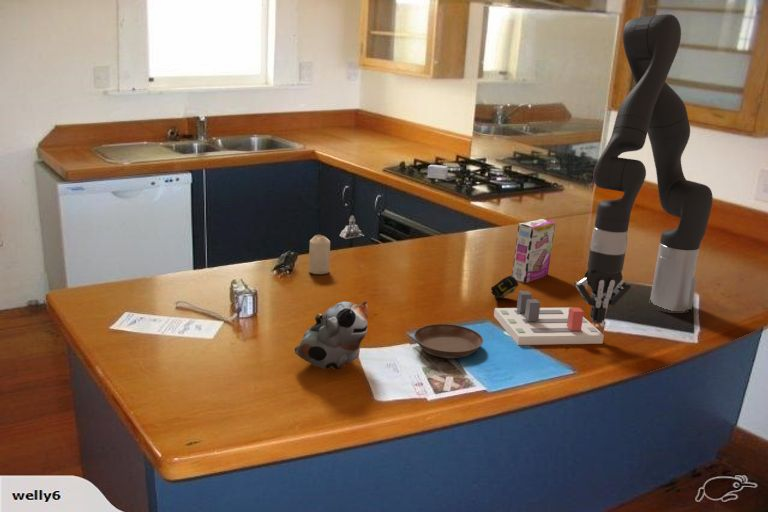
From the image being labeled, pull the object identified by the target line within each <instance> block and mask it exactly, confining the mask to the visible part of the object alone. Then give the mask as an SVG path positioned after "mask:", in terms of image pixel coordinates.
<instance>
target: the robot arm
mask: <svg viewBox="0 0 768 512" xmlns="http://www.w3.org/2000/svg"><path fill="white" fill-rule="evenodd" d="M681 37H682V27H681V23H680V22H679V19H678V18H677V17H676V16H675V14H674V15H673V14H670V13H669V14H667V13H666V14H665V13H663V14H655V15H649V16H640V17H636V18H635V17H633V18H630V20H628V21H627V22H626V23H625V25H624V27H623V31H622V43H623V49H624V54H625V56H626V59H627V62H628V65H629V68H630V71H631V74H632V77H633V80H634V82H635V86H633V88H632V89H631V90H630V91H629V92H628V94H627V95H626V96H625V98H624V99H623V101H622V102H621V104H620V106H619V109H618V111H617V112H616V118H615V121H614V125H613V128H612V132H611V136H610V137H609V138H610V139H609V141H608V143H607V145H606V147H605V148H604V150H603V152H602V154H601V155H600V157H599V158H598V160H597V162H596V164H595V166H594V168H593V174H592V179H593V182H594V184H595V186H596V187H598V188H600V189H602V190H603V189H604V190H610V191H616V192H623V195H622V197H621V198H618V199H604V200H601V201H600V202H599V203H598V204H597V208H596V214H595V220H594V228H593V230H592V235H591V239H590V246H589V247H590V248H589V253H588V254H589V255H588V261H587V269H586V272H585V273H584V278H582V279H581V280H579V281H578V280H575V281H574V283H573V284H574V286H575V288H576V289H577V292H578V293H579V294H580V296H581V297H582V299H583V301H584V302H585V303H587V304H588V305H589V306H591V308H590V316H589V317H590V319H591V320H592V322H594V323H595V324H602V323H603V321H605V318H606V313H607V308H608V307H609V306H615V305H616V304H617V302H618V301H620V299H621V298H622V297H623V296H624V295H625V294H626V293H627V292H628V291H629V290H630V289H631V284H629V283H628V282H627V281H625V280H624V279H623V277H624V276H623V274H622V273H623V272H622V271H623V270H624V265H625V264H624V263H625V257H626V251H627V248H628V247H627V246H628V232H629V225H630V220H631V219H630V218H631V213H632V211H633V206H634V203H635V201H636V199H637V196H638V194H639V192H640V190H641V189H642V186H643V184H644V183H645V180H646V176H647V170H646V166H645V164H644V163H643V161H641V160H639V159H633V158H626V157H620V155H622V154H623V153H627V152H637V151H640V150H642V149H643V147H644V146H645V143H646V139H647V136H648V139H649V142H650V146H651V151H652V156H653V162H654V166H655V172H656V181H657V190H658V197H659V203H660V206H661V208H662V209H663V211H664V212H665V213H666V214H668V215H670V216H672V217H677V218H680V219H679V223H678V225H677V227H676V228H673V229H672V228H671V229H666V230H663V231H662V233H661V236H660V241H659V246H658V253H657V256H656V257H657V258H656V263H655V267H654V268H655V270H654V275H653V281H652V285H651V286H652V287H651V292H650V298H649V301H650V300H651V302H652V303H653V304H654V305H657V306H659V307H662V308H664V309H668V310H671V311H685V310H687V309H691V310H692V308H693V302H694V296H695V293H696V292H695V291H696V287H697V282H698V278H697V277H696V276H695V272H696V269H697V268H696V267H697V262H698V257H699V251H700V246H701V244H702V243H701V242H702V241H703V239H704V237H705V234H706V231H707V227H708V223H709V221H710V220H709V219H710V215H711V211H712V209H713V208H712V206H713V201H714V200H713V193H712V190H711V188H710V187H709V186H707V185H706V184H704V183H703V184H702V183H700V182H696V181H691V180H688V179H686V177H685V174H684V171H683V167H682V166H683V165H682V156H683V154H684V152H685V149H686V148H687V145H688V143H689V140H690V136H691V126H690V120H689V116H688V111H687V106H686V103H684V101H683V99H682V98H681V97H680V96H679V95H678V94H677V92H675V90H674V89H673V88H672V87H671V86H670V85H669V84H668V83H667V82H666V80H667V78H668V75H669V73H670V71H671V68H672V65H673V63H674V61H675V59H676V56H677V53H678V50H679V47H680V43H681ZM588 286H589V289H590V294H589V292H588V290H587V289H588Z"/></svg>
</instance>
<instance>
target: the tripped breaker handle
mask: <svg viewBox="0 0 768 512" xmlns="http://www.w3.org/2000/svg"><path fill="white" fill-rule="evenodd" d="M568 308H569V314H568V321H567V327H568V328H569V329H570V330H581V327H582V320H583V317H584V310H583V309H582V308H580V307H568Z"/></svg>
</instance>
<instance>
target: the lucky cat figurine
mask: <svg viewBox="0 0 768 512" xmlns="http://www.w3.org/2000/svg"><path fill="white" fill-rule="evenodd" d="M369 315H370V311H369V306H368V301H367V300H364V301H362V302H361V303H359V304H357V303H354V302H351V301H350V302H349V301H340V302H338V303H336V304H334V305H333V306H331V307H329V308H328V309H327V310H325V312H324V313H323V314H322V313H317V314H316V315H315V317H314V319H315V322H316V323H314V325H313V326H310V327H309V328H307V330H306V331H305V332H304V334H303V337H302V339H301V341H300V343H299V345H297V346H296V347H294V352H295V353H294V354H296V355H297V356H298V357H299V358H301V359H302V360H304V361H306V362H307V363H310V365H312V366H314V367H317V368H320V369H323V370H328V369H330V368H333V369H334V370H335V371H337V370H342V369H343V368H344V367H345V366H347V365H349V364H350V363H352V362H353V361H355V360H357V358H358V357H359V355H360V352H361V344H362V341H363V340H364V339H365V338H366V335H367V333H368V329H369V328H368V318H369Z"/></svg>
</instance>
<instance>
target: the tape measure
mask: <svg viewBox="0 0 768 512" xmlns="http://www.w3.org/2000/svg"><path fill="white" fill-rule="evenodd" d="M518 287H519V281H517V280H516V279H515V278H514V277H513V276H512V275H508V276H506V277H504V278H502V279H501V280H500V281H498V282H497V283H495V285H493V286H492V287H491V292H490V293H491V294H492V295H493V296H494V297H495V298H496V299H498V300H500V299H502V298H503V299H504V298H505V297H507V296H508V295H510V294H512V293H515V290H516V289H517V288H518Z"/></svg>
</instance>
